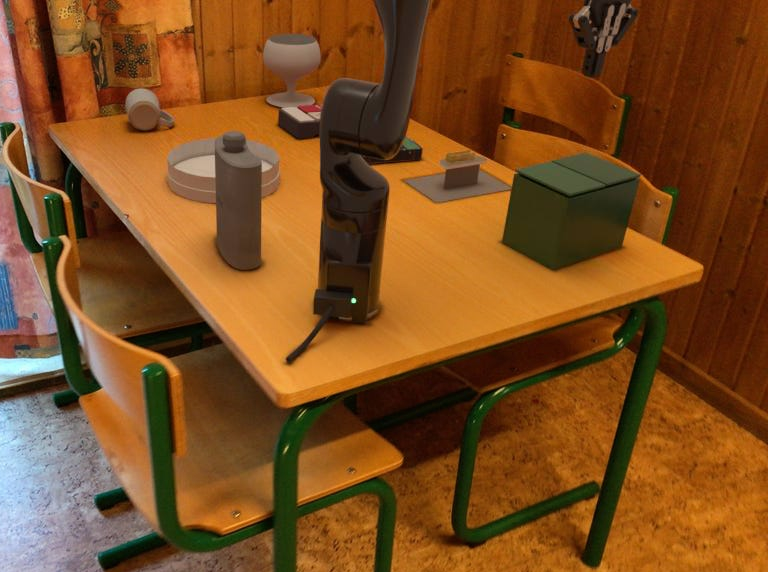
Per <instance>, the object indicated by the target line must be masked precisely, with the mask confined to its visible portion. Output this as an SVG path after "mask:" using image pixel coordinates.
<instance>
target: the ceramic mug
mask: <svg viewBox="0 0 768 572" xmlns="http://www.w3.org/2000/svg"><path fill="white" fill-rule="evenodd" d="M124 106H125V110H126V116H127V119H128V122H129V123H130V125H131V126H132V127H133V128H134V129H136V130H138V131H141V132H147V131H151V130H153V129H154V128H156V127H157V126H158V125H159V126H161V127H165V128H173V126H174V124H175V118H174V116H172V115H171V114H169V113H168V112H166V111H165V110H163V109H161V108H160V102H159V99H158V97H157V95H156V94H155V93H154V92H153V91H151V90H150V89H147V88H141V87H140V88H139V87H138V88H135V89H133V90H132V91H130V92H129V93H128V95H127V96H126V99H125V105H124Z"/></svg>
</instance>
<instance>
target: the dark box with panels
mask: <svg viewBox="0 0 768 572" xmlns="http://www.w3.org/2000/svg"><path fill="white" fill-rule="evenodd" d="M321 108H322V103H321V104H312V105H305V106H298V108H296V107H287V108H286V107H280V108H279V109H278V117H277V124H278V126H280V127H281V128H282V129H284V130H285V131H287V132H288V133H289V134H290V135H292V136H294V138H296V139H298V140H300V139H313V138H314V137H315V136H318V135H319V136H320V114H321Z"/></svg>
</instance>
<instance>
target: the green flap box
mask: <svg viewBox="0 0 768 572" xmlns="http://www.w3.org/2000/svg"><path fill="white" fill-rule="evenodd" d="M550 161H551V162H554V163H556V164H558V165H561V166H563V167H565V168H568V169H570V170H572V171H575V172H577V173H579V174H582V175H584V176H587V177H589V178H591V179H594V180H596V181H598V182H601V183H603V184H605V185H606V187H603V188H599V189H596V190H592V191H588V192H584V193H580V194H577V195H576V196H573V197H569V198H568V197H566V196H564V195H562V194H560V193H557V192H555V191H553V190H551V189H549V188H547V187H546V185H544V184H541V183H539V182H537V181H535V180H533V179H530V178H528V177H526V176H524V175H522V174H519V173H517V172H515V173H514V174H513V177H512V183H511V188H512V189H510V195H509V200H508V206H507V211H506V216H505V223H504V227H503V233H502V238H501V243H502V244H504V245H506V246H507V247H510V248H511V249H514V251H517V252H519V253H521V254H523V255H525V256H526V257H528V258H530V259H532V260H533V261H535V262H537V263H539V264H541V265H543V266H544V267H546V268H548V269H551V270H552V271H554V270H558V269H560V268H564V267H567V266H570V265H573V264H576V263H579V262H582V261H585V260H588V259H592V258H594V257H597V256H601V255H603V254H607V253H610V252H612V251H615V250H619V249H623V244H624V241H625V237H626V233H627V230H628V226H629V222H630V218H631V216H632V215H631V214H632V211H633V207H634V203H635V200H636V197H637V193H638V190H639V185H640V182H641V179H640V177H641V175H642V174H641V173H638V172H636V171H633V170H631V169H628V168H626V167H623V166H621V165H618V164H615V163H613V162H611V161H608V160H606V159H603V158H601V157H598V156H595V155H593V154H591V153H588V152H581V153H578V154H572V155H568V156H564V157H560V158H557V159H552V160H550Z"/></svg>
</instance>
